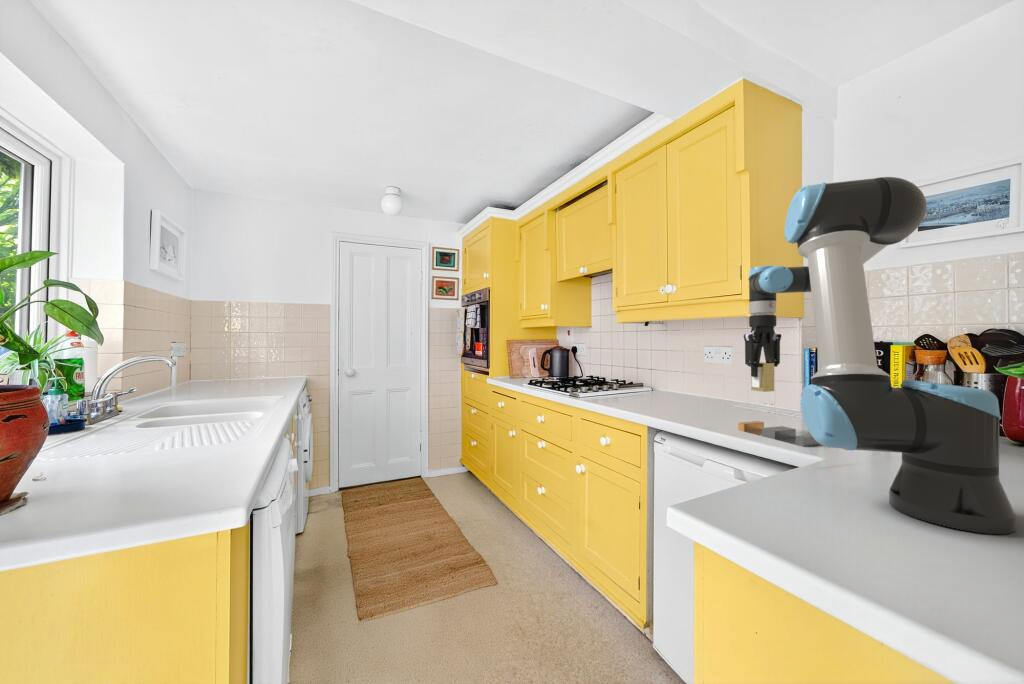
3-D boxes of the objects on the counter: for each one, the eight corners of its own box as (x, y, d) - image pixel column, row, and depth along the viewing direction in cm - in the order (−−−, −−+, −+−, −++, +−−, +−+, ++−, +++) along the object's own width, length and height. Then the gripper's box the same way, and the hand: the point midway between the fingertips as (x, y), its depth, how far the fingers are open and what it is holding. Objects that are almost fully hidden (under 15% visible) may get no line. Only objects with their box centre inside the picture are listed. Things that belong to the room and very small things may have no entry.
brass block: (763, 391, 128) (763, 363, 128) (751, 390, 132) (751, 362, 132) (774, 391, 129) (774, 363, 129) (761, 389, 133) (761, 362, 133)
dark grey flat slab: (803, 448, 114) (803, 437, 114) (738, 431, 135) (738, 422, 135) (825, 445, 116) (825, 435, 116) (758, 429, 137) (758, 420, 137)
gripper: (751, 313, 124) (751, 389, 124) (793, 314, 129) (794, 386, 130) (731, 315, 131) (731, 386, 132) (772, 315, 137) (772, 384, 137)
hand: (762, 386), depth 131 cm, fingers closed on brass block, 4 cm apart
